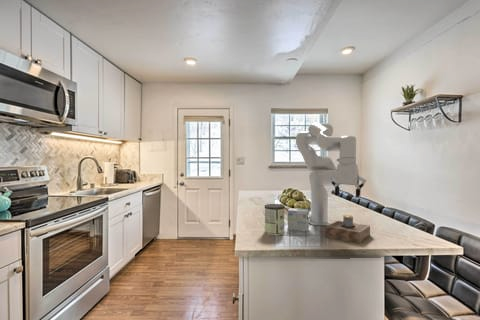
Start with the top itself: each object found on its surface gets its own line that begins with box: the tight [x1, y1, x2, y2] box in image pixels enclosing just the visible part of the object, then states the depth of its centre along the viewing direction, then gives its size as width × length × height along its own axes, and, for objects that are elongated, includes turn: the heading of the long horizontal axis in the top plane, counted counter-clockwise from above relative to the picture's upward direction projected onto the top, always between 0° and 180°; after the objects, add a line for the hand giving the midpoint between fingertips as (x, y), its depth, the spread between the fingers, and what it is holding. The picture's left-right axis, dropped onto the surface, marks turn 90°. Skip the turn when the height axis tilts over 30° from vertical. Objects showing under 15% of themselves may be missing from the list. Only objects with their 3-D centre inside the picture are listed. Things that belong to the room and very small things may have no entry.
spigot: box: [342, 214, 354, 228], centre depth 130 cm, size 4×4×9 cm
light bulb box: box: [287, 207, 310, 232], centre depth 144 cm, size 11×7×11 cm, turn 71°
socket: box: [324, 220, 371, 244], centre depth 130 cm, size 16×16×5 cm
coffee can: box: [263, 203, 286, 236], centre depth 137 cm, size 10×10×14 cm
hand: (347, 196), depth 131 cm, fingers open, 9 cm apart
